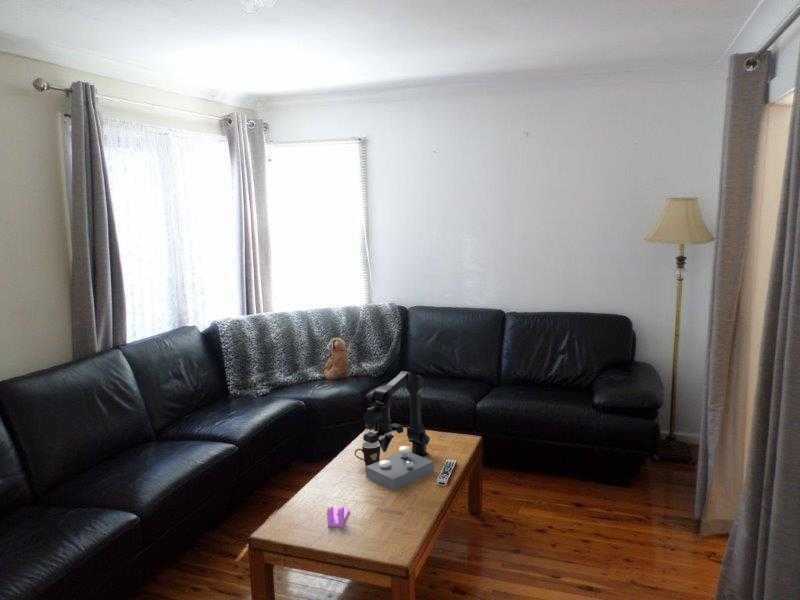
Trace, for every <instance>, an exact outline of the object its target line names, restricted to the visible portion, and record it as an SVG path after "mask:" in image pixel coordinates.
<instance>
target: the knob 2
mask: <svg viewBox="0 0 800 600" xmlns="http://www.w3.org/2000/svg"><path fill="white" fill-rule="evenodd" d="M409 452H411V447H410V446H408V445H403V446H402V445H401V446H399V447H398V453H402V458H407V457H408V454H407V453H409Z"/></svg>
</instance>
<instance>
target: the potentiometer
mask: <svg viewBox="0 0 800 600" xmlns="http://www.w3.org/2000/svg"><path fill="white" fill-rule="evenodd" d="M406 469H407V470H412V469H413V461H411V460H410V458H409V461H406Z"/></svg>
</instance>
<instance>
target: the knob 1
mask: <svg viewBox="0 0 800 600" xmlns="http://www.w3.org/2000/svg"><path fill="white" fill-rule="evenodd" d="M381 460H382V461H380V460H379V461H380V462H379V467H381V468H384V469H385V468H388V467H390V466H391V461H389V460H383V459H381Z"/></svg>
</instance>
